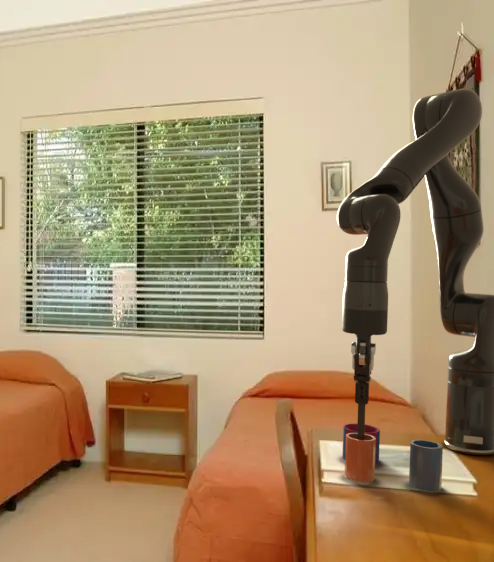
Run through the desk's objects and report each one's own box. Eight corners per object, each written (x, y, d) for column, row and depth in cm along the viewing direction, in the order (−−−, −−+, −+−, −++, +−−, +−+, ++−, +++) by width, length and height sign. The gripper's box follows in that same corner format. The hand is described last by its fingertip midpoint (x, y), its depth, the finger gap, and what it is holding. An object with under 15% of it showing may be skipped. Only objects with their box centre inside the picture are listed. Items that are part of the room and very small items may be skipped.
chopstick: (357, 444, 109) (359, 374, 108) (364, 445, 108) (366, 374, 108) (356, 446, 108) (358, 375, 107) (363, 447, 107) (366, 375, 107)
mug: (381, 460, 119) (382, 427, 119) (371, 475, 111) (372, 439, 110) (346, 454, 123) (347, 421, 122) (334, 467, 114) (335, 432, 114)
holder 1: (360, 474, 111) (361, 431, 111) (380, 483, 107) (382, 439, 106) (338, 477, 110) (339, 434, 109) (358, 486, 105) (359, 442, 105)
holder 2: (423, 482, 108) (425, 438, 107) (447, 492, 103) (449, 446, 103) (402, 485, 106) (403, 441, 106) (425, 496, 101) (427, 449, 101)
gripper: (387, 310, 99) (384, 413, 100) (388, 305, 112) (384, 397, 112) (339, 308, 102) (336, 408, 103) (345, 303, 115) (342, 392, 115)
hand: (361, 402), depth 108 cm, fingers closed on chopstick, 1 cm apart
